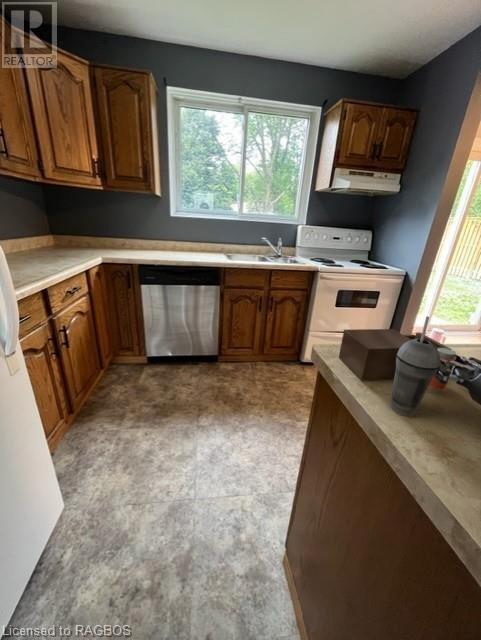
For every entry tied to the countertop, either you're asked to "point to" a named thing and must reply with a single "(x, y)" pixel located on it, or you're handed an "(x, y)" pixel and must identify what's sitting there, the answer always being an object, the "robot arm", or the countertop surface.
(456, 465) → the countertop surface
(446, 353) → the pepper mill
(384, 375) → the dark brown wooden box
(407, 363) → the beverage cup
